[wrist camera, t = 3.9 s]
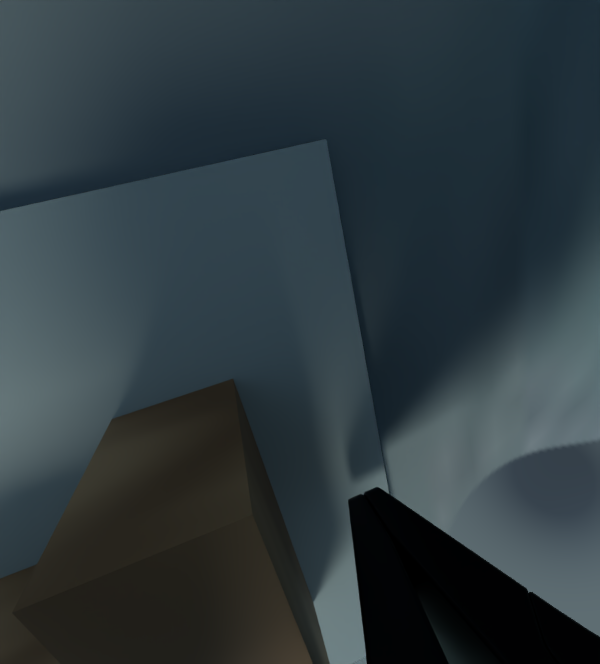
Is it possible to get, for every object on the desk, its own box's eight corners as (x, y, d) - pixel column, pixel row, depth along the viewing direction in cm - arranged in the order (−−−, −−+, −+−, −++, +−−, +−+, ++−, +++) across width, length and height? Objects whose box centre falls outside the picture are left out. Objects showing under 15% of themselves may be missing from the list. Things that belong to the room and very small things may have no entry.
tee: (233, 378, 7) (252, 514, 4) (313, 602, 10) (363, 788, 7) (-150, 506, 6) (-616, 868, 2) (70, 716, 9) (-14, 1008, 5)
